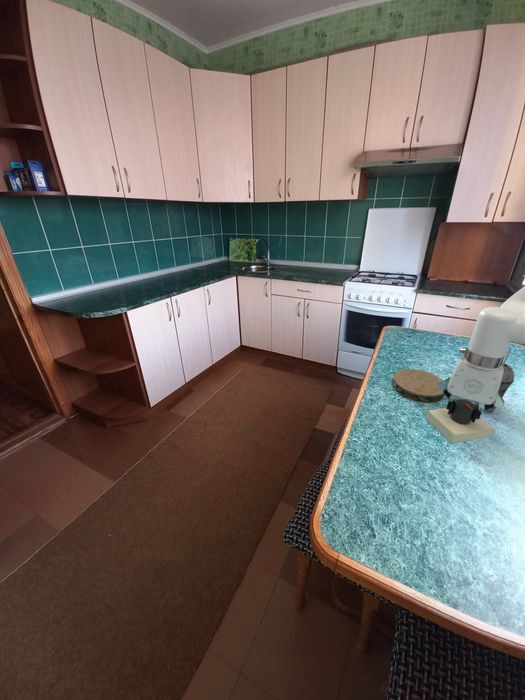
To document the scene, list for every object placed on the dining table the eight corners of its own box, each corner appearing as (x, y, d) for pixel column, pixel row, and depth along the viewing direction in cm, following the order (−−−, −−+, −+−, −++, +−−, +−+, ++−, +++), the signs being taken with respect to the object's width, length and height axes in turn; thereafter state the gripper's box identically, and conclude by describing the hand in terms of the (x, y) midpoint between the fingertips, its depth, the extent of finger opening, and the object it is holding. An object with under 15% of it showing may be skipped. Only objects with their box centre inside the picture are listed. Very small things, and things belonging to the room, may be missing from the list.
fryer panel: (461, 413, 87) (464, 404, 85) (490, 436, 78) (494, 427, 77) (425, 418, 85) (428, 410, 83) (451, 443, 76) (454, 434, 75)
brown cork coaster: (444, 409, 89) (447, 401, 87) (388, 394, 96) (390, 386, 94) (444, 383, 101) (446, 375, 99) (395, 372, 108) (396, 365, 106)
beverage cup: (466, 407, 89) (489, 349, 80) (475, 398, 93) (497, 342, 84) (495, 419, 84) (522, 359, 75) (502, 409, 88) (529, 350, 79)
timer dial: (446, 413, 82) (451, 398, 80) (461, 412, 82) (467, 397, 80) (457, 425, 78) (463, 409, 75) (474, 424, 78) (481, 408, 76)
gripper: (441, 354, 73) (424, 411, 81) (528, 375, 64) (499, 436, 72) (446, 343, 78) (429, 397, 87) (527, 361, 69) (499, 420, 78)
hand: (461, 415), depth 79 cm, fingers closed on timer dial, 4 cm apart
